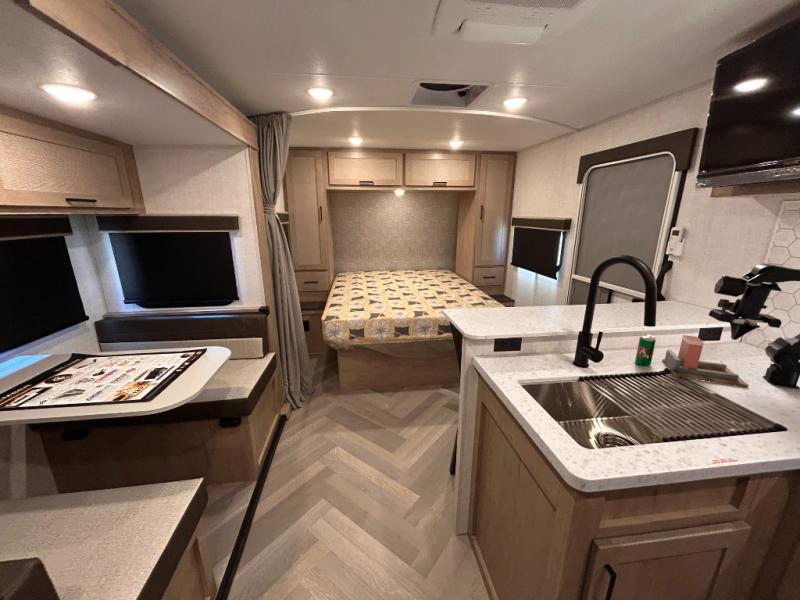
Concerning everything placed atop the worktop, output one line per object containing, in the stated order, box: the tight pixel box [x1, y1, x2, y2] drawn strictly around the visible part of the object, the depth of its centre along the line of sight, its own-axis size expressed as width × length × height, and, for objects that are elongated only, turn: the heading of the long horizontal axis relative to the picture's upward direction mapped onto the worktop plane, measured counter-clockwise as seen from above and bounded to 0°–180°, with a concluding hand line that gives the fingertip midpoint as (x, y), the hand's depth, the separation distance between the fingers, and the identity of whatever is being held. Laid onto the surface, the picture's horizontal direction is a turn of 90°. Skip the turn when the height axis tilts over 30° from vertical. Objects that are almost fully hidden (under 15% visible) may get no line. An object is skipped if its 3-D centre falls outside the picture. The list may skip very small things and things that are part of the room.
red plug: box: [677, 335, 705, 369], centre depth 118 cm, size 4×6×12 cm
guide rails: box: [664, 349, 740, 381], centre depth 117 cm, size 18×10×5 cm, turn 67°
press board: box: [661, 358, 749, 388], centre depth 118 cm, size 20×14×1 cm
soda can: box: [634, 334, 657, 367], centre depth 124 cm, size 5×5×12 cm
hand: (733, 339), depth 115 cm, fingers closed
